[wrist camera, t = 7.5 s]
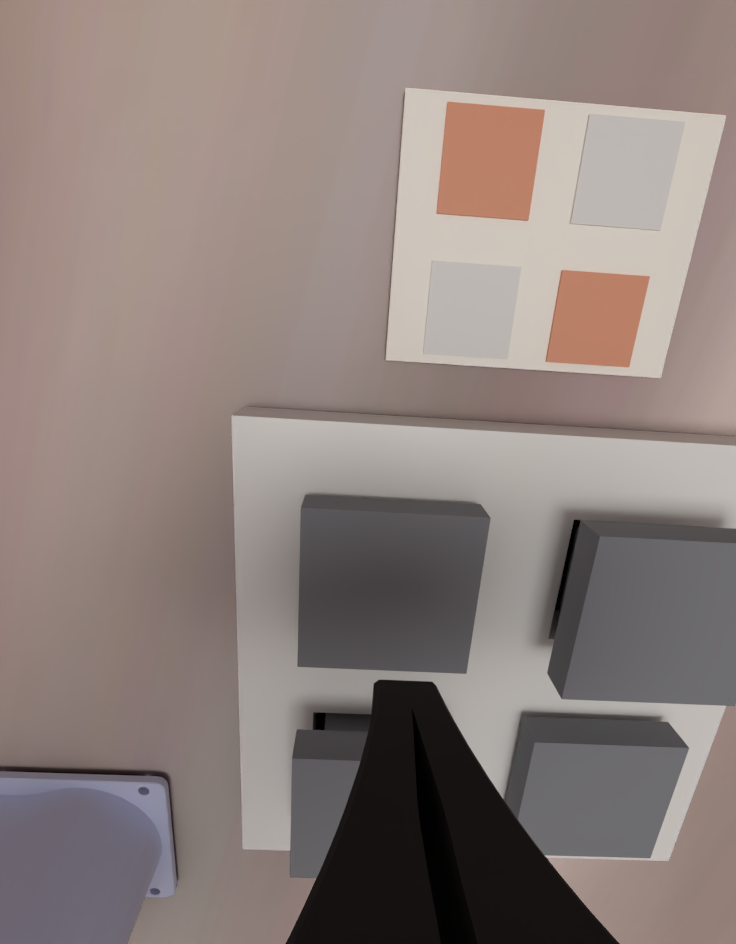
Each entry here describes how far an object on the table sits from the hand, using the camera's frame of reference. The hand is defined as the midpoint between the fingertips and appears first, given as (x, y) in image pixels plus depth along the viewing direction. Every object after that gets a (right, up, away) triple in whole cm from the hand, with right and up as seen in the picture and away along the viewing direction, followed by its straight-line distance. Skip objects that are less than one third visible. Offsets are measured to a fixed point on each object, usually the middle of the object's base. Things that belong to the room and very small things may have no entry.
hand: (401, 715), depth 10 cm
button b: (+8, -7, +11) cm, 15 cm away
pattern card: (+5, +13, +5) cm, 15 cm away
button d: (+9, +2, +7) cm, 11 cm away
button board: (+4, -2, +9) cm, 10 cm away
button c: (0, +2, +8) cm, 8 cm away
